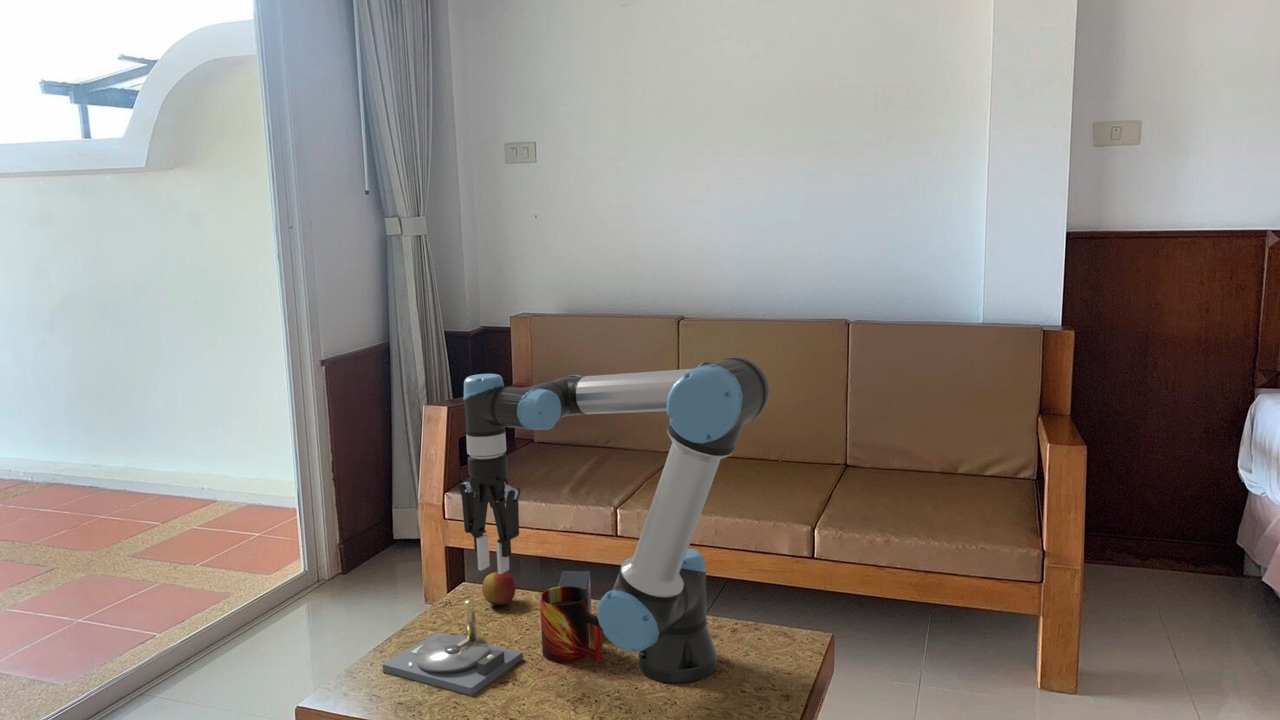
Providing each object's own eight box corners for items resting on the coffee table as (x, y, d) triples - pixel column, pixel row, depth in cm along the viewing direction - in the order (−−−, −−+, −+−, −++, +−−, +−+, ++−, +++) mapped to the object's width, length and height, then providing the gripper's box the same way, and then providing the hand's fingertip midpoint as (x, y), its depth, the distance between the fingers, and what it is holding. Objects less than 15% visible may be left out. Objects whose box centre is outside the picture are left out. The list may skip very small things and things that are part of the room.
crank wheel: (503, 648, 185) (500, 604, 184) (457, 678, 173) (454, 632, 172) (448, 635, 192) (446, 593, 191) (401, 663, 180) (398, 618, 179)
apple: (521, 598, 215) (519, 565, 214) (509, 612, 207) (508, 578, 206) (490, 597, 217) (488, 564, 215) (477, 611, 209) (475, 577, 208)
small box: (589, 635, 194) (587, 588, 193) (558, 636, 194) (556, 589, 193) (592, 615, 205) (590, 569, 203) (563, 615, 205) (561, 570, 203)
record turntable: (522, 659, 185) (521, 639, 184) (471, 695, 171) (470, 674, 170) (437, 638, 195) (436, 620, 195) (383, 671, 181) (381, 651, 181)
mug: (601, 667, 180) (598, 608, 178) (535, 660, 184) (532, 603, 182) (616, 645, 189) (614, 589, 188) (553, 639, 193) (550, 584, 191)
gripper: (534, 453, 178) (540, 570, 182) (464, 446, 187) (471, 557, 190) (511, 462, 172) (517, 583, 175) (439, 454, 180) (447, 569, 183)
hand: (493, 569), depth 182 cm, fingers open, 4 cm apart
